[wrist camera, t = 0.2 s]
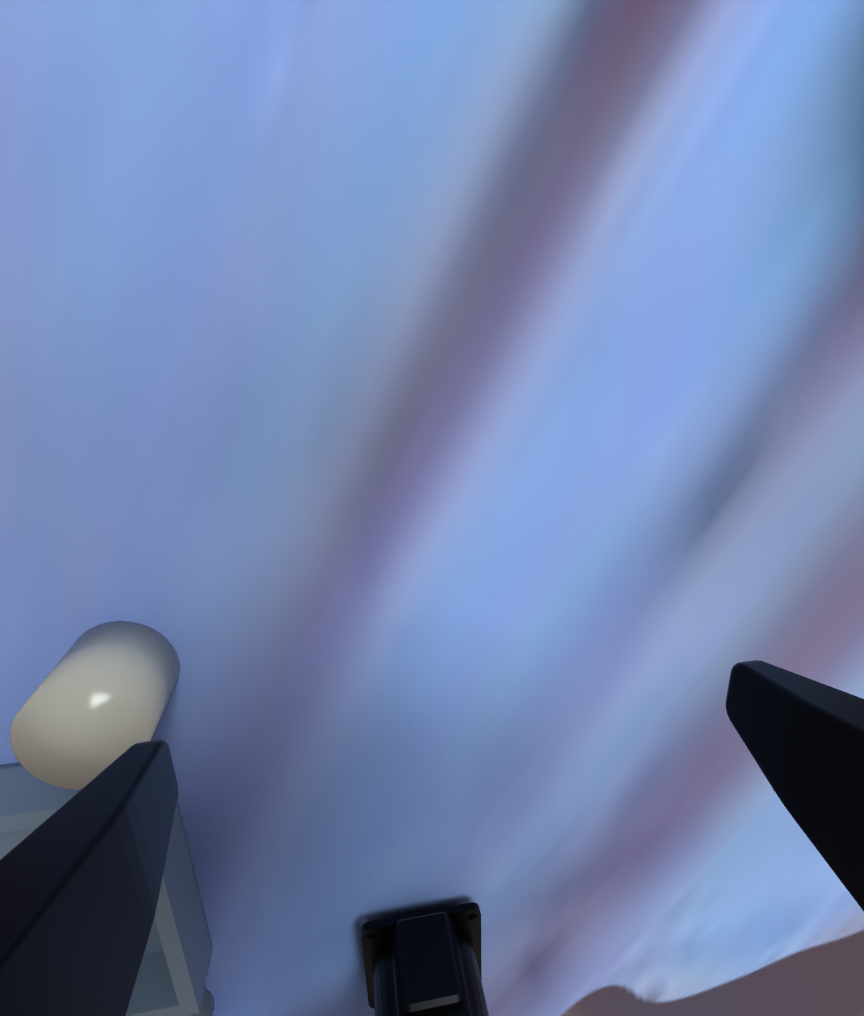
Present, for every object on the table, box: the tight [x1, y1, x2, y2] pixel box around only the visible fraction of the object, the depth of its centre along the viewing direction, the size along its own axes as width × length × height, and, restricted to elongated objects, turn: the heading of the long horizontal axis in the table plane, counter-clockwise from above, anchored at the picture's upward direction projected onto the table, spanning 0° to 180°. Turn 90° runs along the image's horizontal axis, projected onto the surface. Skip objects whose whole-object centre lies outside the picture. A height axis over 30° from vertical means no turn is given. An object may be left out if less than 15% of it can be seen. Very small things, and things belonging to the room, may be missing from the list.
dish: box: [0, 763, 212, 1016], centre depth 25 cm, size 14×14×3 cm
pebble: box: [10, 621, 180, 790], centre depth 22 cm, size 4×4×4 cm
